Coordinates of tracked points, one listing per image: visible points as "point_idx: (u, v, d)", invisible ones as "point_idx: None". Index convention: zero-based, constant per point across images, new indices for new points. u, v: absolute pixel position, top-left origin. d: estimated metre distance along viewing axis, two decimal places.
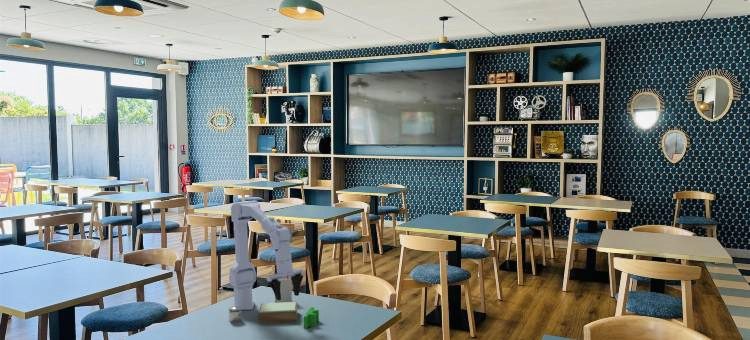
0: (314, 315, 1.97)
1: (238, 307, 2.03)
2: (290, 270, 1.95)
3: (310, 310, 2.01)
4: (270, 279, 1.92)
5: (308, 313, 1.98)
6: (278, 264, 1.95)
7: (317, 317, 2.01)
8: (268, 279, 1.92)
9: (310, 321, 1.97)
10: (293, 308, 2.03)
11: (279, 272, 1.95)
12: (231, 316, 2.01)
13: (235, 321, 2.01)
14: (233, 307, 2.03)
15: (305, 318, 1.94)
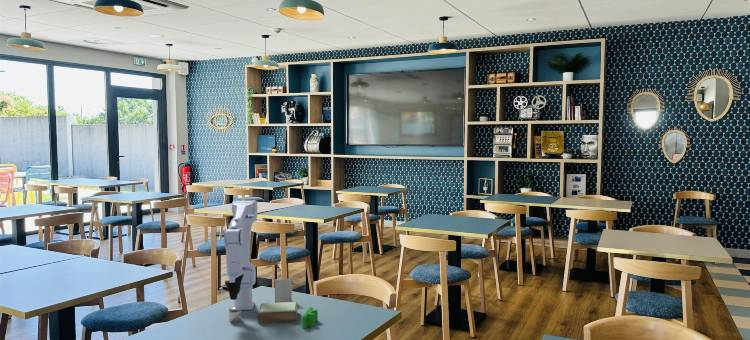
0: (313, 315, 1.97)
1: (238, 307, 2.03)
2: None
3: (309, 310, 2.01)
4: None
5: (307, 313, 1.98)
6: None
7: (316, 317, 2.01)
8: None
9: (309, 321, 1.97)
10: (293, 308, 2.03)
11: None
12: (231, 316, 2.01)
13: (235, 321, 2.01)
14: (233, 307, 2.03)
15: (304, 318, 1.94)
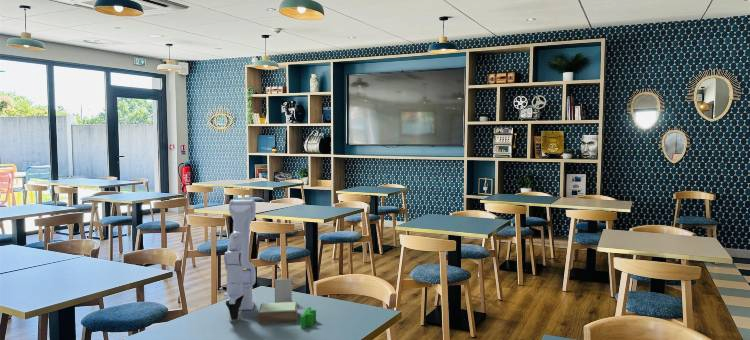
0: (311, 315, 1.97)
1: None
2: (227, 292, 2.01)
3: (307, 310, 2.01)
4: None
5: (305, 313, 1.98)
6: None
7: (314, 317, 2.01)
8: None
9: (307, 321, 1.97)
10: (293, 308, 2.03)
11: None
12: None
13: (235, 321, 2.01)
14: None
15: (302, 318, 1.94)
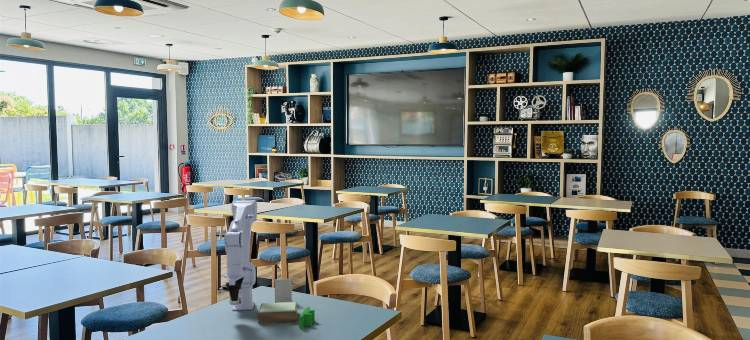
0: (310, 315, 1.97)
1: None
2: (227, 273, 2.01)
3: (306, 310, 2.01)
4: None
5: (304, 313, 1.98)
6: None
7: (313, 317, 2.01)
8: None
9: (306, 321, 1.97)
10: (293, 308, 2.03)
11: None
12: None
13: (235, 303, 2.00)
14: None
15: (301, 318, 1.94)
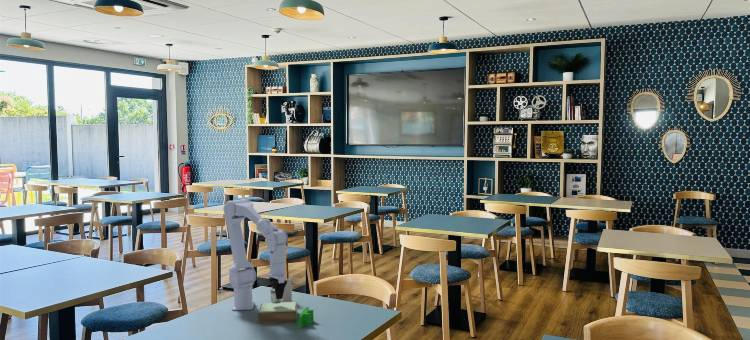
0: (309, 315, 1.97)
1: None
2: (270, 272, 2.03)
3: (305, 310, 2.01)
4: None
5: (303, 313, 1.98)
6: None
7: (312, 317, 2.01)
8: None
9: (305, 321, 1.97)
10: (293, 308, 2.03)
11: None
12: (274, 297, 2.03)
13: (279, 301, 2.03)
14: None
15: (300, 318, 1.94)
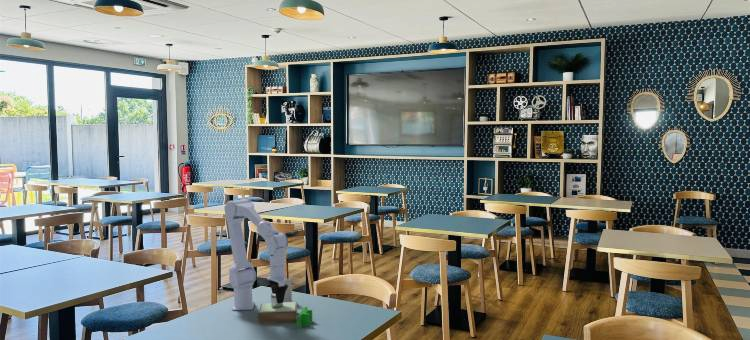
0: (307, 315, 1.97)
1: None
2: (270, 275, 2.03)
3: (303, 310, 2.01)
4: None
5: (301, 313, 1.98)
6: None
7: (311, 317, 2.01)
8: None
9: (303, 321, 1.97)
10: (293, 308, 2.03)
11: None
12: (275, 302, 2.03)
13: (279, 307, 2.04)
14: (274, 293, 2.05)
15: (298, 318, 1.94)
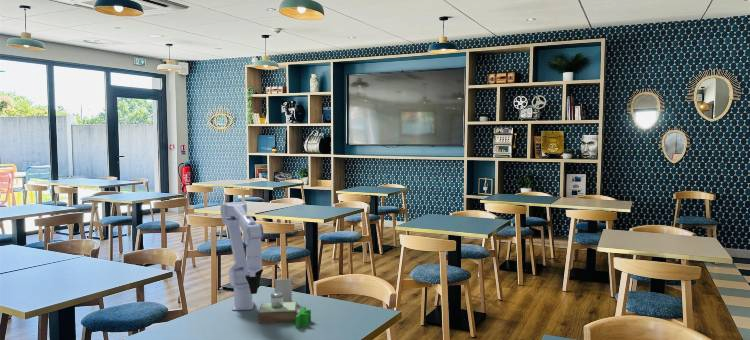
0: (306, 315, 1.97)
1: (279, 293, 2.06)
2: (246, 266, 2.04)
3: (302, 310, 2.01)
4: None
5: (300, 313, 1.98)
6: None
7: (309, 317, 2.01)
8: None
9: (302, 321, 1.97)
10: (293, 308, 2.03)
11: None
12: (275, 302, 2.03)
13: (279, 307, 2.04)
14: (274, 293, 2.05)
15: (297, 318, 1.94)
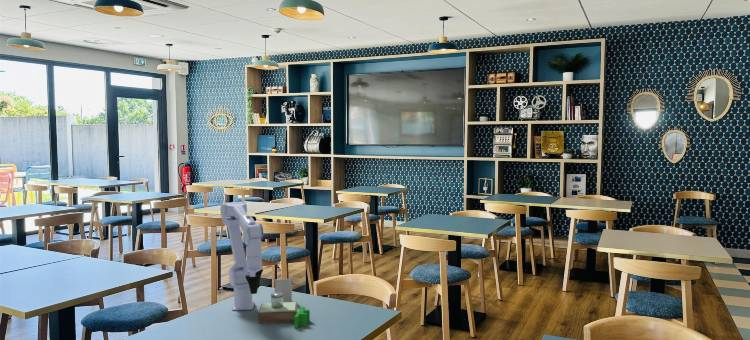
0: (305, 315, 1.97)
1: (279, 293, 2.06)
2: (246, 266, 2.04)
3: (301, 310, 2.01)
4: None
5: (299, 313, 1.98)
6: None
7: (308, 317, 2.02)
8: None
9: (301, 321, 1.97)
10: (293, 308, 2.03)
11: None
12: (275, 302, 2.03)
13: (279, 307, 2.04)
14: (274, 293, 2.05)
15: (296, 318, 1.94)
